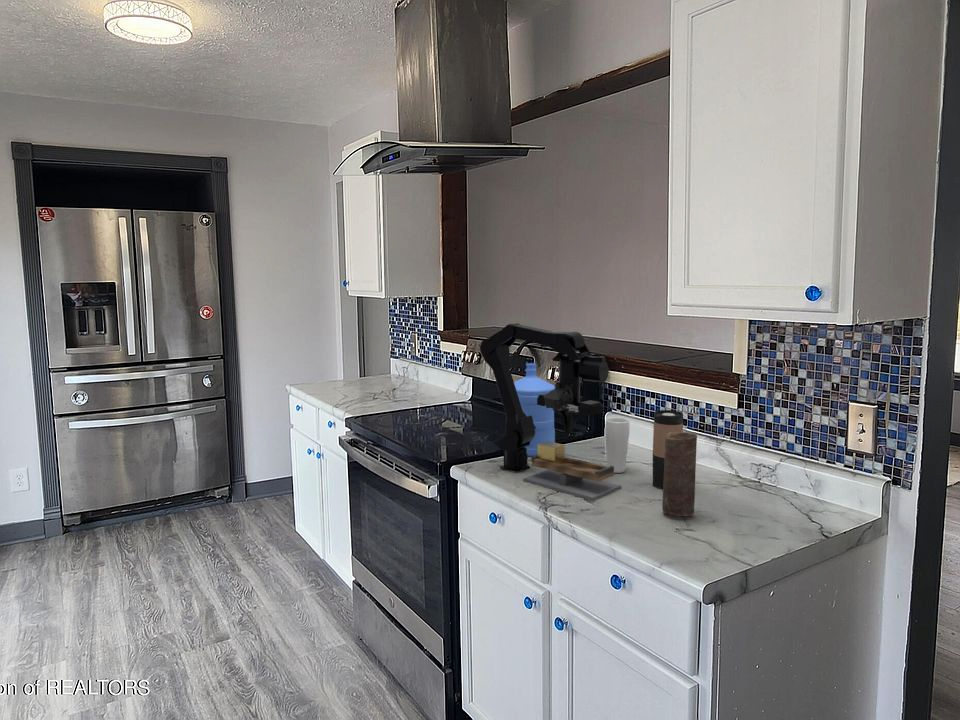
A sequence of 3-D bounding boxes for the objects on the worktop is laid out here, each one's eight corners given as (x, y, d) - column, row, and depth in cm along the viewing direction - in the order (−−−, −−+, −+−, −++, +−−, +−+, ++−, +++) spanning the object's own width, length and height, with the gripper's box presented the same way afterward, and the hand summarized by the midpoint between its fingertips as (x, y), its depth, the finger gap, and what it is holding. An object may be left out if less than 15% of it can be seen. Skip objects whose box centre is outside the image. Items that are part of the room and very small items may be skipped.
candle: (688, 523, 161) (692, 438, 158) (657, 517, 165) (660, 434, 162) (697, 513, 167) (701, 431, 164) (667, 507, 171) (670, 428, 168)
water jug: (537, 460, 212) (537, 369, 208) (496, 451, 221) (496, 364, 217) (564, 449, 224) (565, 363, 220) (524, 441, 233) (525, 359, 229)
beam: (531, 465, 193) (531, 456, 192) (547, 460, 198) (547, 451, 198) (598, 482, 178) (598, 472, 177) (613, 475, 183) (613, 466, 183)
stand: (523, 481, 192) (523, 468, 191) (552, 470, 201) (552, 458, 200) (592, 500, 176) (593, 487, 175) (620, 488, 185) (621, 475, 185)
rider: (537, 461, 193) (537, 444, 192) (547, 458, 196) (547, 441, 195) (554, 465, 189) (554, 447, 188) (564, 462, 192) (564, 444, 191)
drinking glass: (628, 475, 197) (629, 423, 195) (604, 473, 198) (605, 422, 196) (628, 468, 203) (629, 417, 201) (604, 466, 205) (605, 417, 202)
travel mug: (683, 483, 189) (685, 411, 187) (678, 491, 183) (681, 417, 180) (654, 479, 193) (656, 408, 190) (648, 487, 186) (651, 414, 183)
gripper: (524, 377, 190) (523, 433, 193) (579, 386, 177) (577, 446, 179) (550, 372, 198) (549, 426, 200) (604, 381, 185) (602, 438, 187)
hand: (568, 434), depth 192 cm, fingers closed
